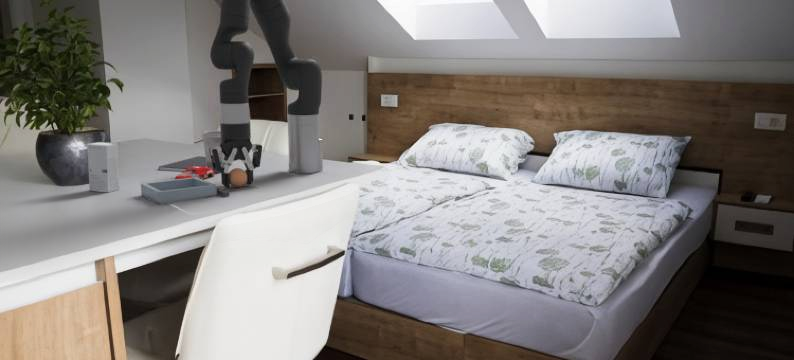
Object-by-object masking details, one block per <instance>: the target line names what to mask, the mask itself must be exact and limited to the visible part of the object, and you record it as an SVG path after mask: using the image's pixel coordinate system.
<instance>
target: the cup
mask: <svg viewBox="0 0 794 360" xmlns="http://www.w3.org/2000/svg"><path fill="white" fill-rule="evenodd" d="M201 138H203V147H204V155H205V156H204V157H206V161H207V167H208V168H212V169H213V165H212V161H211V156H210V152H209V149H210V148H217V147H220V144H221V133H220V130H208V131H204V132H203V135H201ZM223 157H224V154H223V153H222V151H220V155H219V160H220V164H221V165H222V160H223ZM213 171H214V175H215V174H221V172H218V171H216V170H214V169H213Z"/></svg>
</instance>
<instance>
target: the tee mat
mask: <svg viewBox="0 0 794 360" xmlns="http://www.w3.org/2000/svg"><path fill="white" fill-rule="evenodd" d="M216 187H217V188H220V189H222V190H225V191H227V192H229V193H231V192H237V191H239V192H240V191H244V190H245V191H247V190H254V189H259V187H257V186H254V185H252V184H250V185H248V184H246V183H245V184H244V185H243V186H241V187H234V186H232V185H230V187H227V188H226V187H224V185H218V186H217V185H216Z"/></svg>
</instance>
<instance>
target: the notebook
mask: <svg viewBox="0 0 794 360" xmlns="http://www.w3.org/2000/svg"><path fill="white" fill-rule="evenodd" d="M195 166H202V167H207V161H206V156H201V155H200V156H198V155H197V156H195V157H191V158H187V159H182V160H178V161H175V162H171V163H167V164H163V165H159V166H158V171H169V172H170V171H173V172H182V171H185V170H186V169H188V168H190V167H195Z"/></svg>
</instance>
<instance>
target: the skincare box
mask: <svg viewBox="0 0 794 360" xmlns="http://www.w3.org/2000/svg"><path fill="white" fill-rule="evenodd" d="M86 147H87V164H88V166H87V167H88V182H89V183H88V185H89V191H90V192H100V193H111V192H116V191H119V190H120V179H119V178H120V177H119V173H120V171H119V153H118V152H119V151H118V150H119V149H118V148H119V147H118V143H114V142H100V141H99V142H98V141H97V142H92V143H87V146H86Z"/></svg>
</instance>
